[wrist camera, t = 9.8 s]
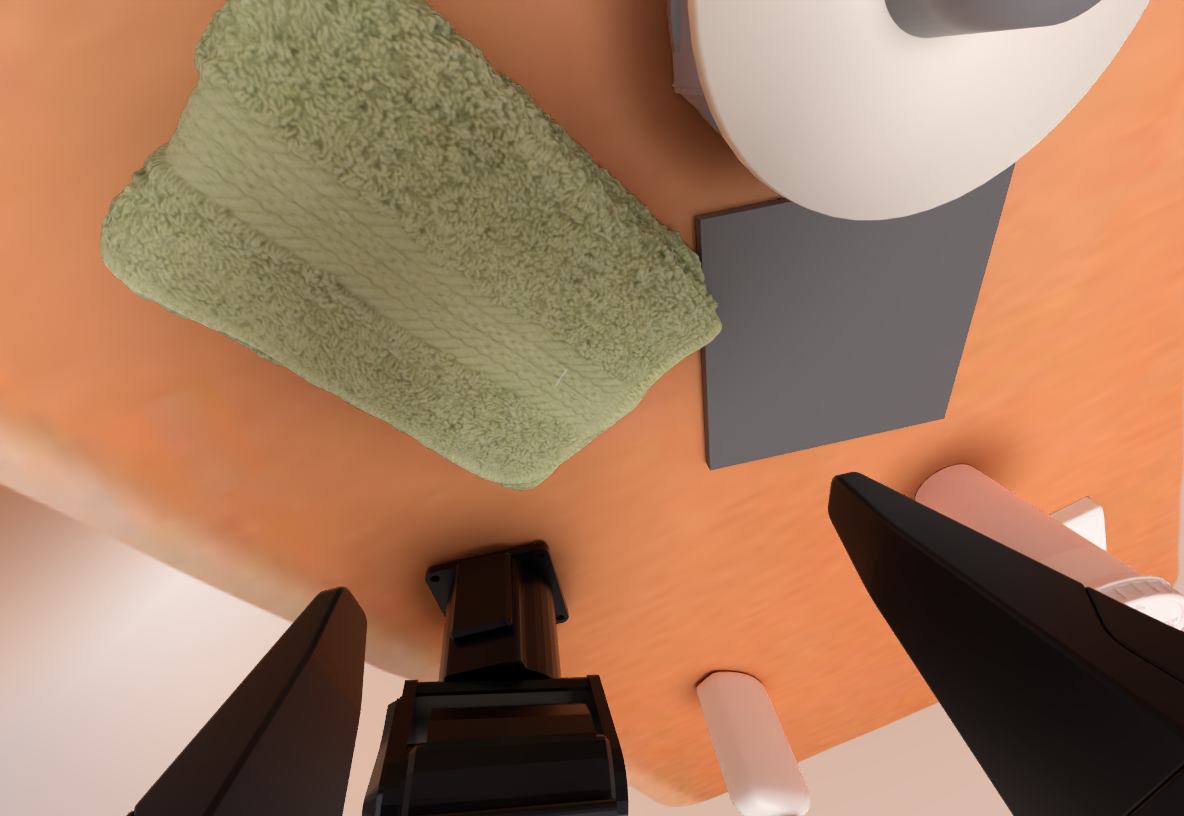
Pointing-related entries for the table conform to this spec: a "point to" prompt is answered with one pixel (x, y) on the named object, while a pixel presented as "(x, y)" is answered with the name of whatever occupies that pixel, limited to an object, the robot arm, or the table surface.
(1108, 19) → the lid
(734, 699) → the eye dropper bottle
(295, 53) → the washcloth
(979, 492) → the smoothie
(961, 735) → the robot arm
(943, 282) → the mat
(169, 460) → the table surface
